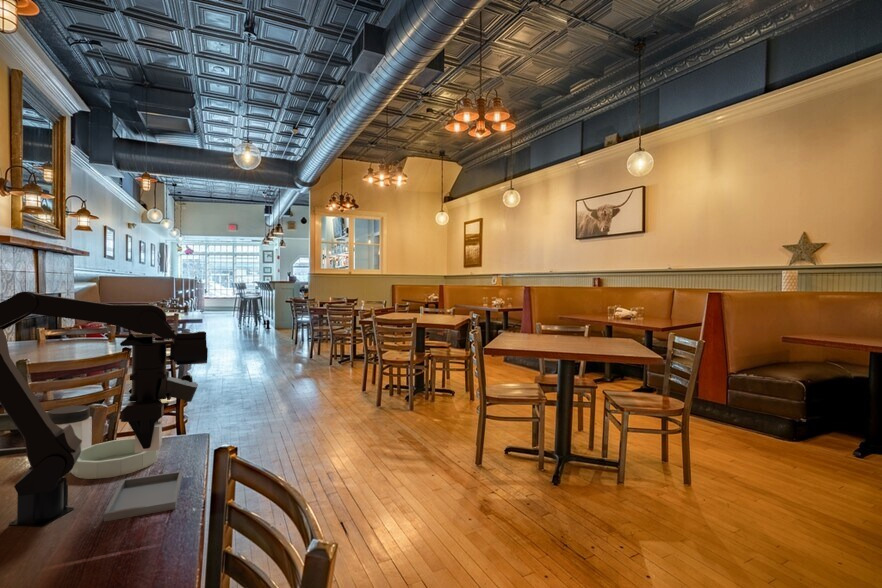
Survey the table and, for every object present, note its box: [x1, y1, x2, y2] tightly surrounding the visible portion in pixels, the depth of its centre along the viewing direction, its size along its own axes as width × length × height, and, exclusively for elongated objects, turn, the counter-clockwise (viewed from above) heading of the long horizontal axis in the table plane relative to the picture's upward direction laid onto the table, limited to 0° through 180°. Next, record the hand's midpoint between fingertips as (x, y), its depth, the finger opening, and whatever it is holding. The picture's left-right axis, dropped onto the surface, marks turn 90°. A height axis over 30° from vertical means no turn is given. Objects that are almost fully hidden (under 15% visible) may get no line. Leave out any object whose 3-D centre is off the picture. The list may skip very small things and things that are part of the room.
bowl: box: [70, 437, 159, 480], centre depth 104 cm, size 16×16×4 cm
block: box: [134, 420, 163, 453], centre depth 88 cm, size 4×4×5 cm
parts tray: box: [103, 470, 184, 523], centre depth 87 cm, size 16×11×2 cm
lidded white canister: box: [46, 405, 93, 450], centre depth 108 cm, size 9×8×12 cm
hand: (148, 444), depth 88 cm, fingers closed on block, 4 cm apart
